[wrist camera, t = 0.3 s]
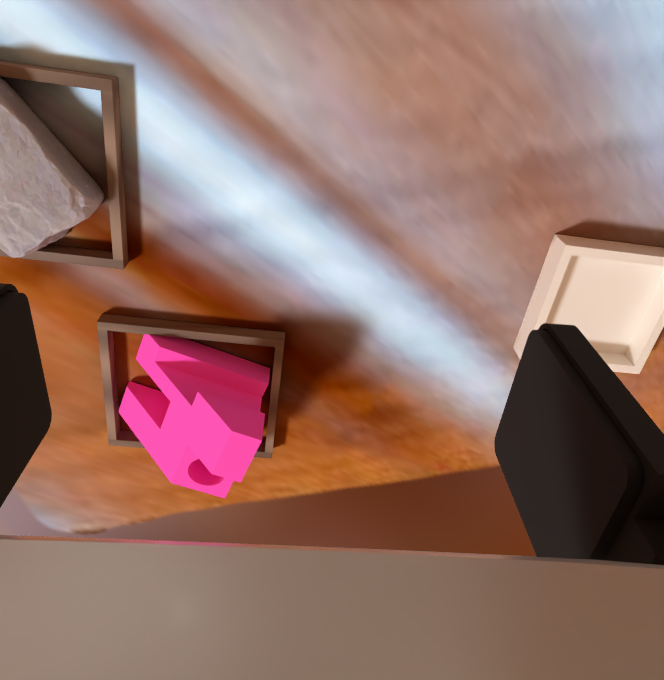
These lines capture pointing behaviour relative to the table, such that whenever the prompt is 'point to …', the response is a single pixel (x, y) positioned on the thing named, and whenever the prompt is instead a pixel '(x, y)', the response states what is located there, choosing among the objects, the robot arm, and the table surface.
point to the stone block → (37, 181)
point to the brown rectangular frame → (113, 163)
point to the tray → (601, 297)
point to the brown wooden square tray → (180, 330)
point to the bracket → (197, 412)
